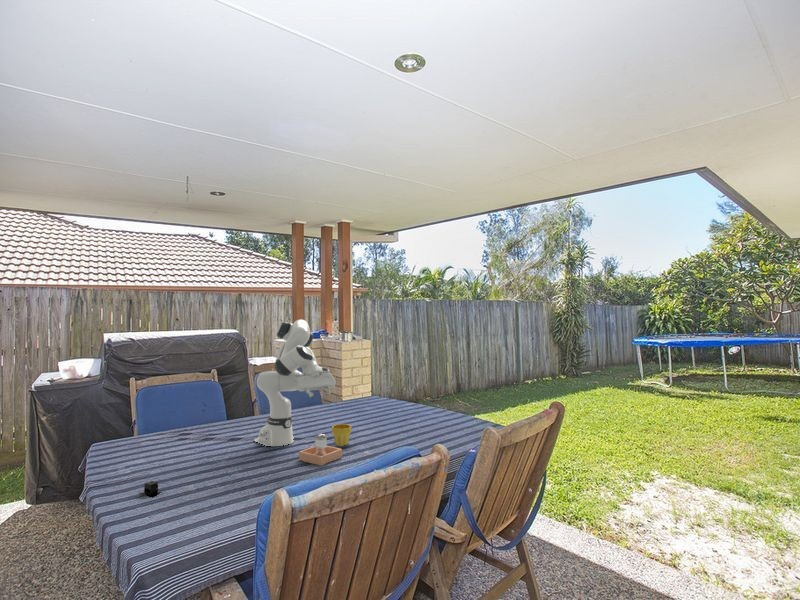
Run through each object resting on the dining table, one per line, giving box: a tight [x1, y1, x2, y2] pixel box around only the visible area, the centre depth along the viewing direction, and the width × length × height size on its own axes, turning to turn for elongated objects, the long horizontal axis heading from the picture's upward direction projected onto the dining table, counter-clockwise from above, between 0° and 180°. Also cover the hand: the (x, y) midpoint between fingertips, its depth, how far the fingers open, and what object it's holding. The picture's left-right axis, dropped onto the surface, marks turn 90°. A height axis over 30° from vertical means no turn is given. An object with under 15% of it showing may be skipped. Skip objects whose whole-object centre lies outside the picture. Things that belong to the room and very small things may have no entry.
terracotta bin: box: [298, 445, 343, 466], centre depth 214 cm, size 15×15×4 cm
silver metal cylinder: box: [314, 433, 328, 456], centre depth 214 cm, size 6×6×11 cm
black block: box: [138, 480, 163, 499], centre depth 172 cm, size 12×7×5 cm, turn 64°
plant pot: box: [331, 423, 352, 447], centre depth 237 cm, size 10×10×10 cm
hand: (320, 395), depth 221 cm, fingers open, 8 cm apart
